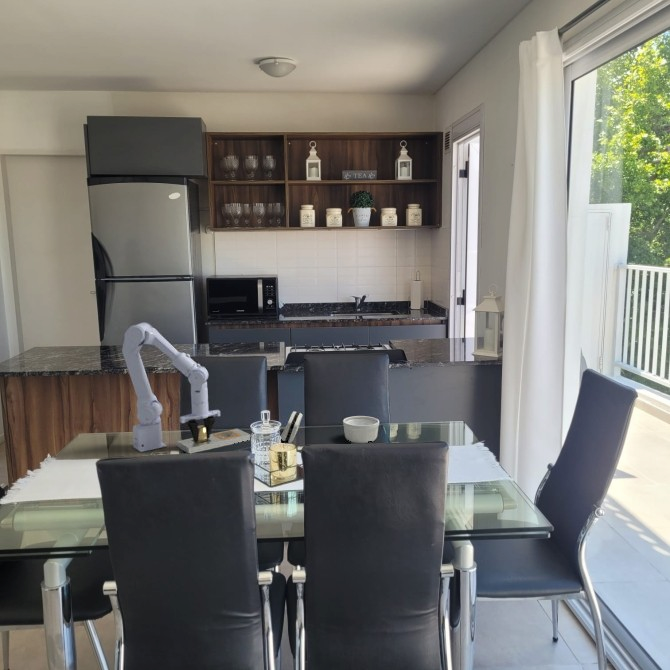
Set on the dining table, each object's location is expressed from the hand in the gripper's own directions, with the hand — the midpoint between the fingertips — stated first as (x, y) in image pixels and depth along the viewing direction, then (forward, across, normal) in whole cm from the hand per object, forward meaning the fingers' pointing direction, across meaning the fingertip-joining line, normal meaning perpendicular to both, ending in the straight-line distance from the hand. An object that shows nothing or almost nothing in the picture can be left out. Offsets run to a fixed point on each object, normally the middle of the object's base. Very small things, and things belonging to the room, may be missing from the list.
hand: (201, 438), depth 207 cm
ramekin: (+3, +49, -30) cm, 58 cm away
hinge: (+3, +31, -11) cm, 33 cm away
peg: (+3, 0, 0) cm, 3 cm away
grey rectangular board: (+3, +5, 0) cm, 6 cm away
